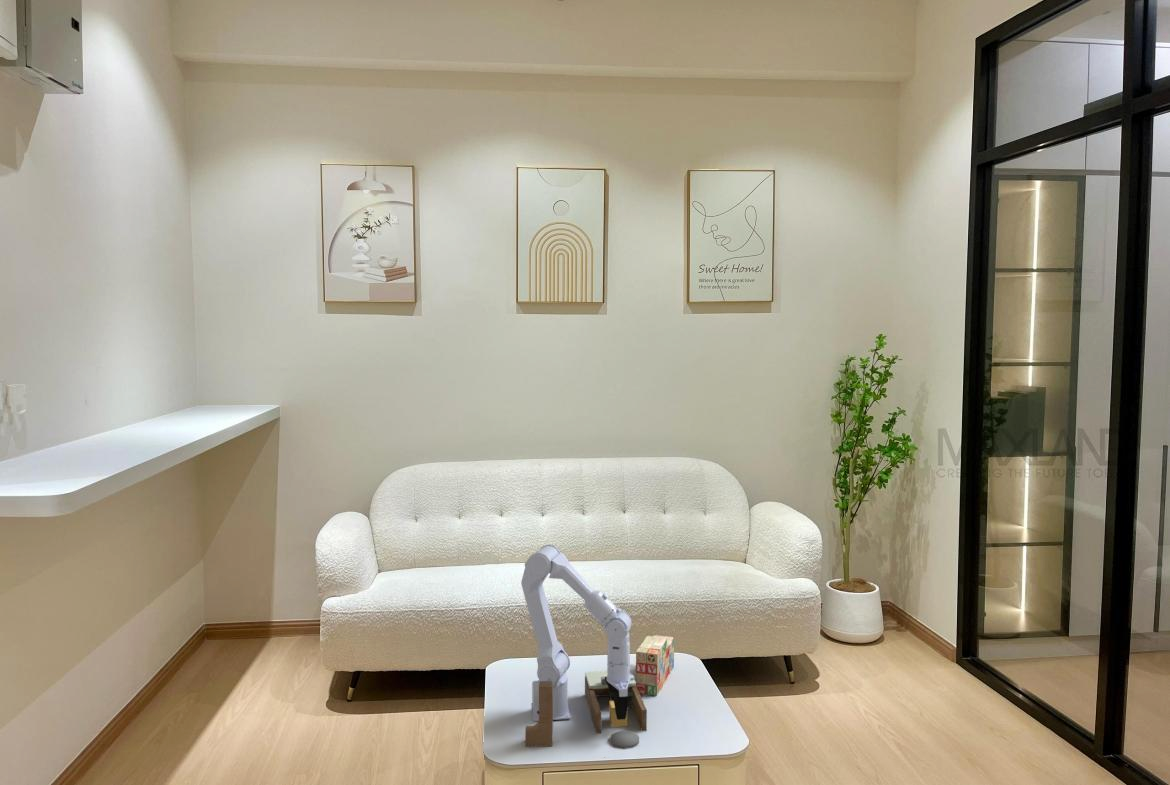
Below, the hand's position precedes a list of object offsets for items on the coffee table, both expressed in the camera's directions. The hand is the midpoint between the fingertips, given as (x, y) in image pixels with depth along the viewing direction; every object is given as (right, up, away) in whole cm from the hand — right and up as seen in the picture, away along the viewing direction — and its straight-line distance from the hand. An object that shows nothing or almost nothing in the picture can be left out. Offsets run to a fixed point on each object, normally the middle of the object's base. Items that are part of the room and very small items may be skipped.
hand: (618, 711), depth 206 cm
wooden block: (-20, -4, -10) cm, 23 cm away
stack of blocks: (+12, -2, +26) cm, 29 cm away
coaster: (+1, -4, -9) cm, 10 cm away
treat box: (-1, -2, +6) cm, 7 cm away
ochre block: (0, -3, 0) cm, 3 cm away
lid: (-2, +4, +13) cm, 13 cm away
